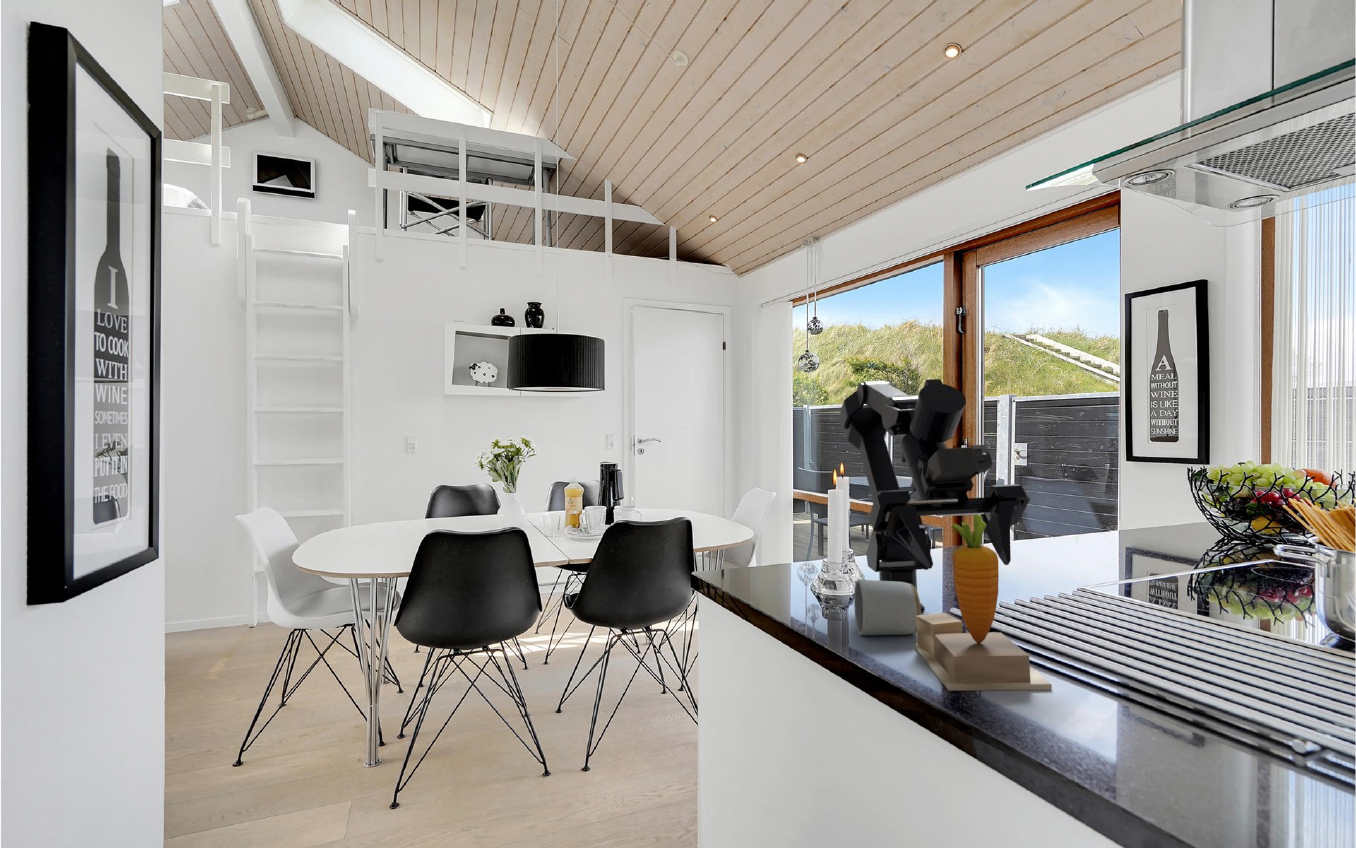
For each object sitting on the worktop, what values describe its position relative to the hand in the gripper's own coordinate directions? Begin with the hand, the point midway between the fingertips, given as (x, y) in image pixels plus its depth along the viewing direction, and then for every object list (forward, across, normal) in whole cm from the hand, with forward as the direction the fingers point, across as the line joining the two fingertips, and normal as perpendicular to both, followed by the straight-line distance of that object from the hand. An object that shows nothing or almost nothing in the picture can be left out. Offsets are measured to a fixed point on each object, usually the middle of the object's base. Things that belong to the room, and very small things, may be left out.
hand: (969, 565), depth 79 cm
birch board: (+8, +1, +10) cm, 13 cm away
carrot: (+8, 0, +6) cm, 9 cm away
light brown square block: (+10, 0, +7) cm, 12 cm away
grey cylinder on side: (-2, -6, +21) cm, 22 cm away
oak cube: (+5, -2, +12) cm, 13 cm away
